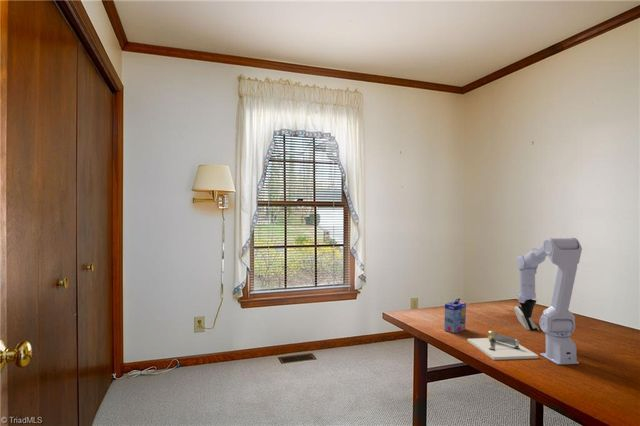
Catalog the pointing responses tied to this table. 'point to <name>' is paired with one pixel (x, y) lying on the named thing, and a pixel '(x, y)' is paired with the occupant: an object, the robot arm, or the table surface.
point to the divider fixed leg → (492, 345)
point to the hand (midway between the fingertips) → (527, 317)
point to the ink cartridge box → (455, 316)
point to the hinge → (524, 319)
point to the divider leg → (502, 338)
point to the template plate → (501, 350)
